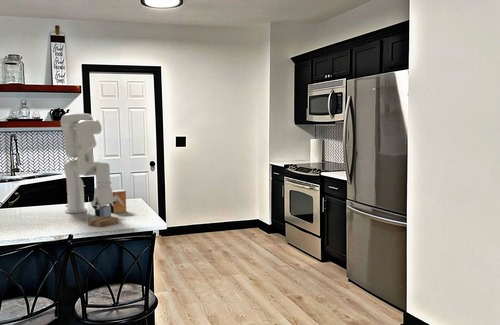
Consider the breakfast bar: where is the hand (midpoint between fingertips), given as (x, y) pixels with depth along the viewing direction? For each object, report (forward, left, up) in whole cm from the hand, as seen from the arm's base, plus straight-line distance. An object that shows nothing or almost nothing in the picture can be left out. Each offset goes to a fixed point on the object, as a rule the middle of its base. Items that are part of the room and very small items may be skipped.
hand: (104, 214), depth 262 cm
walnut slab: (+11, -10, -2) cm, 15 cm away
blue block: (0, 0, -2) cm, 2 cm away
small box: (-8, +17, -2) cm, 19 cm away
